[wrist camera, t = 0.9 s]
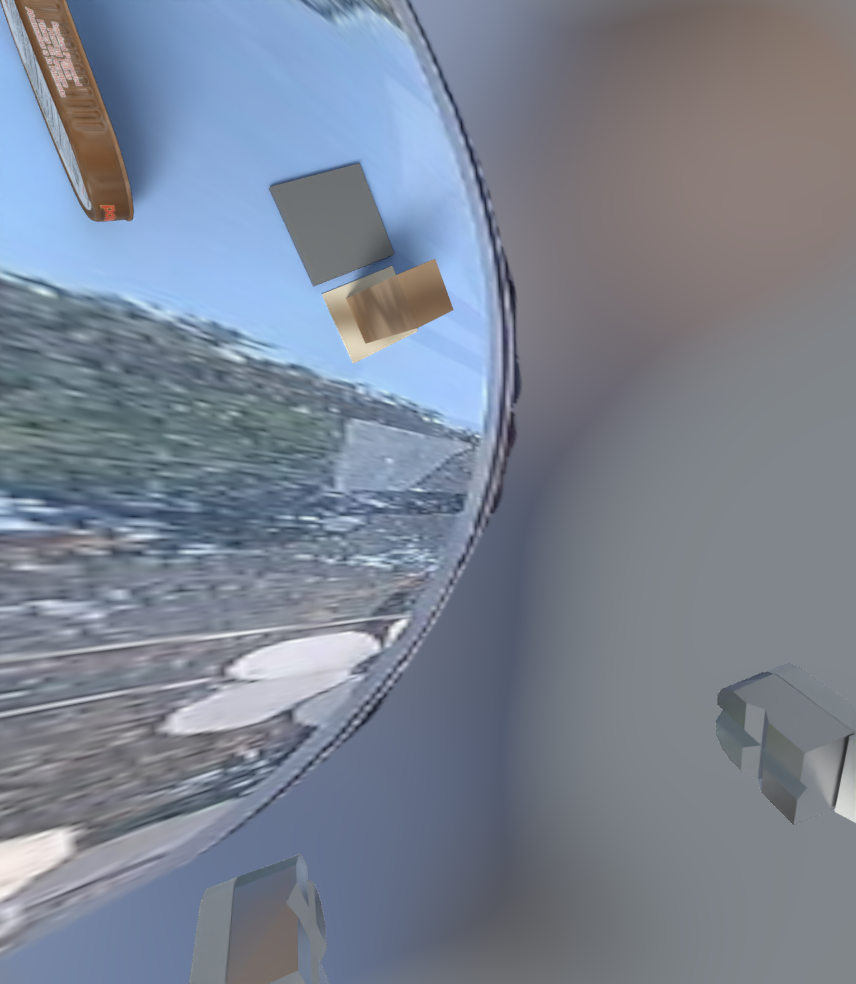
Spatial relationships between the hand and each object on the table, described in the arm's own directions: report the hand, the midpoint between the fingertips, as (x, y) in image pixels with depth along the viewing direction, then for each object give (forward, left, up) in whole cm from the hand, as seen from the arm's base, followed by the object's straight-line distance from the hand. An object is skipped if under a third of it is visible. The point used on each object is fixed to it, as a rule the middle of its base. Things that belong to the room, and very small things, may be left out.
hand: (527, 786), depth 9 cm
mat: (-16, +28, -40) cm, 51 cm away
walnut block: (-7, +28, -40) cm, 49 cm away
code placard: (-7, +28, -40) cm, 49 cm away
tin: (-27, +10, -41) cm, 50 cm away
